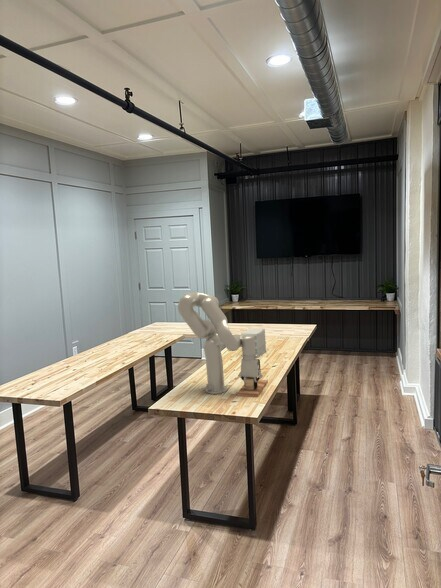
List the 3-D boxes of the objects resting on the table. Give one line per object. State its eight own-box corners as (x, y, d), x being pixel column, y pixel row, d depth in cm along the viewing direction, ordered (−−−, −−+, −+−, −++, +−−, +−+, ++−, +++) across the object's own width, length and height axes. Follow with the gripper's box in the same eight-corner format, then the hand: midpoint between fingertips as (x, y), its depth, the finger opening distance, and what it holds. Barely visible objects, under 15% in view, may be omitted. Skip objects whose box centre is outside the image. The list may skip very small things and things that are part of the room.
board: (257, 397, 231) (257, 394, 230) (236, 395, 235) (236, 393, 234) (267, 382, 253) (267, 380, 253) (248, 381, 257) (248, 379, 257)
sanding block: (253, 390, 236) (252, 380, 236) (245, 390, 238) (244, 380, 237) (256, 386, 243) (255, 376, 242) (249, 386, 244) (248, 376, 244)
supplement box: (250, 351, 330) (248, 328, 328) (266, 351, 324) (265, 328, 322) (242, 356, 314) (240, 333, 312) (258, 357, 309) (257, 333, 307)
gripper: (265, 355, 239) (267, 386, 241) (236, 355, 245) (239, 385, 247) (262, 359, 232) (264, 391, 234) (232, 358, 238) (235, 389, 240)
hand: (251, 387), depth 241 cm, fingers closed on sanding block, 4 cm apart
